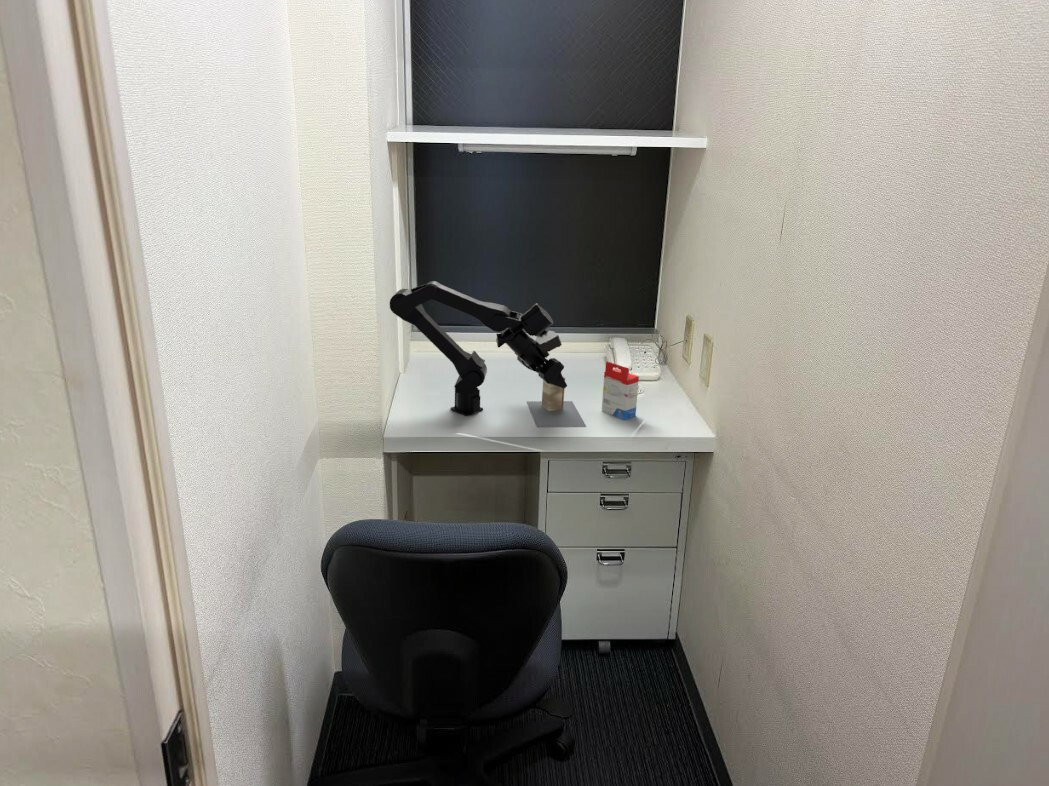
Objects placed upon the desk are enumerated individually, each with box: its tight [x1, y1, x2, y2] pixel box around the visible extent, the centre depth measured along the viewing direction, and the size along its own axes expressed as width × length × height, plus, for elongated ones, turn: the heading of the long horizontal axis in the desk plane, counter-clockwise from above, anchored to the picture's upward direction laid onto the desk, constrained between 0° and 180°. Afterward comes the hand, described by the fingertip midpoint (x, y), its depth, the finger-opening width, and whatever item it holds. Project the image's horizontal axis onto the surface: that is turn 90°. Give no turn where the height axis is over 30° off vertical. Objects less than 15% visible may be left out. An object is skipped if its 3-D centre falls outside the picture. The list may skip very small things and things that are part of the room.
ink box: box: [601, 361, 640, 421], centre depth 212 cm, size 8×5×15 cm, turn 43°
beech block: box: [541, 376, 566, 411], centre depth 214 cm, size 4×4×9 cm
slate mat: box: [526, 400, 587, 429], centre depth 212 cm, size 19×13×1 cm
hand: (558, 381), depth 214 cm, fingers open, 9 cm apart
